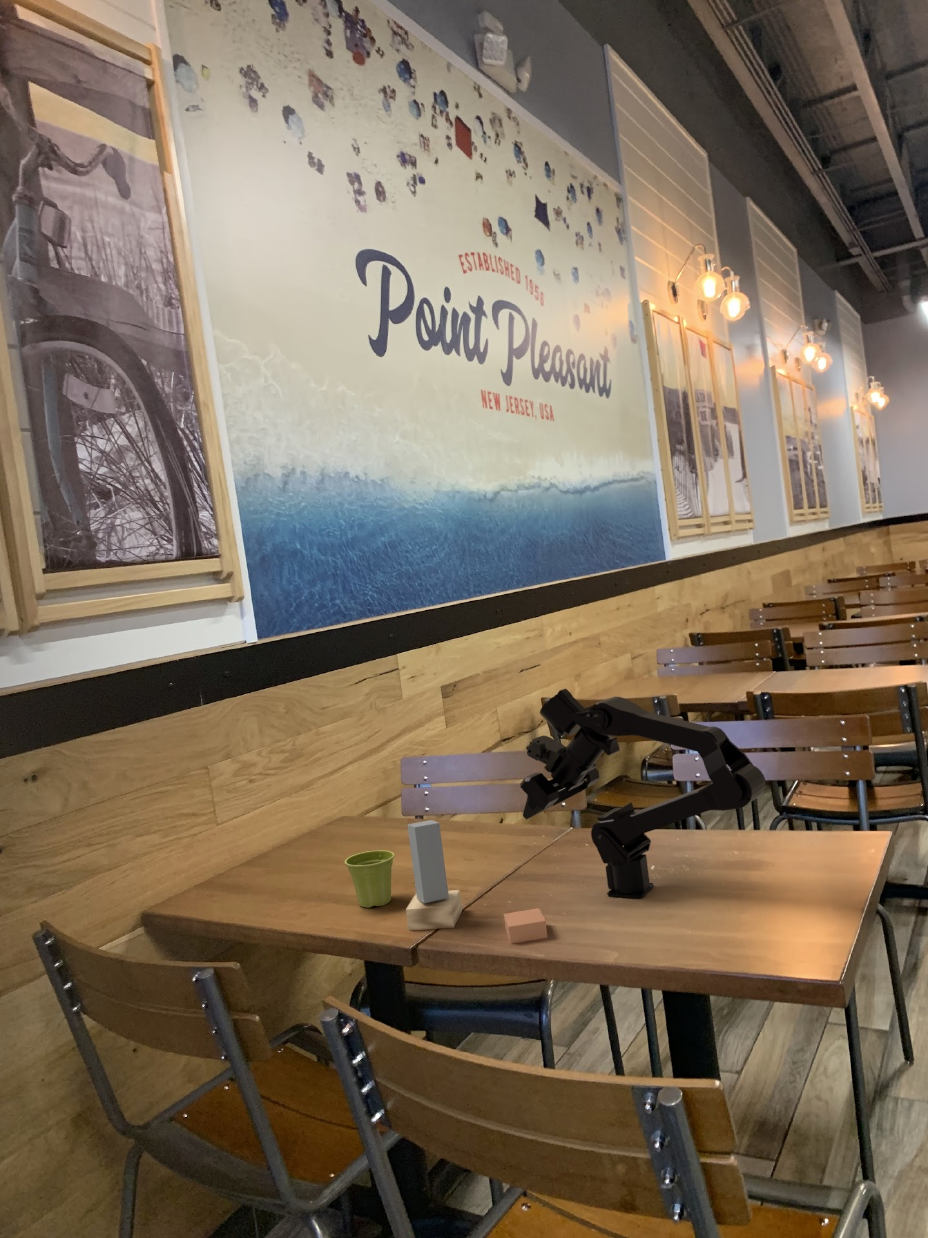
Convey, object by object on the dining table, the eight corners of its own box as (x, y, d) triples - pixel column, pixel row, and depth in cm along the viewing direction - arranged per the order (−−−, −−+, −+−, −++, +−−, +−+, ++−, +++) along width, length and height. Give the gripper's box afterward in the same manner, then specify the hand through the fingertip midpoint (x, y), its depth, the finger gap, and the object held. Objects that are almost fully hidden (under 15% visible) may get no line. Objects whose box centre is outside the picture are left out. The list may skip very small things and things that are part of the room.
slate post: (440, 893, 165) (431, 820, 165) (449, 898, 160) (439, 822, 161) (416, 898, 163) (407, 824, 164) (424, 903, 159) (414, 827, 160)
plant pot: (375, 891, 182) (369, 848, 182) (410, 896, 176) (404, 852, 176) (340, 908, 175) (334, 863, 174) (375, 914, 169) (369, 867, 168)
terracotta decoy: (541, 925, 154) (539, 908, 154) (547, 939, 148) (545, 920, 148) (506, 931, 153) (503, 914, 153) (510, 945, 147) (508, 927, 147)
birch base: (462, 912, 165) (459, 890, 165) (454, 929, 157) (451, 906, 157) (419, 914, 167) (416, 893, 167) (408, 932, 159) (405, 909, 159)
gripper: (577, 712, 177) (537, 768, 184) (522, 733, 162) (480, 792, 170) (619, 753, 172) (575, 809, 180) (565, 778, 158) (521, 837, 165)
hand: (538, 810), depth 174 cm, fingers open, 9 cm apart
